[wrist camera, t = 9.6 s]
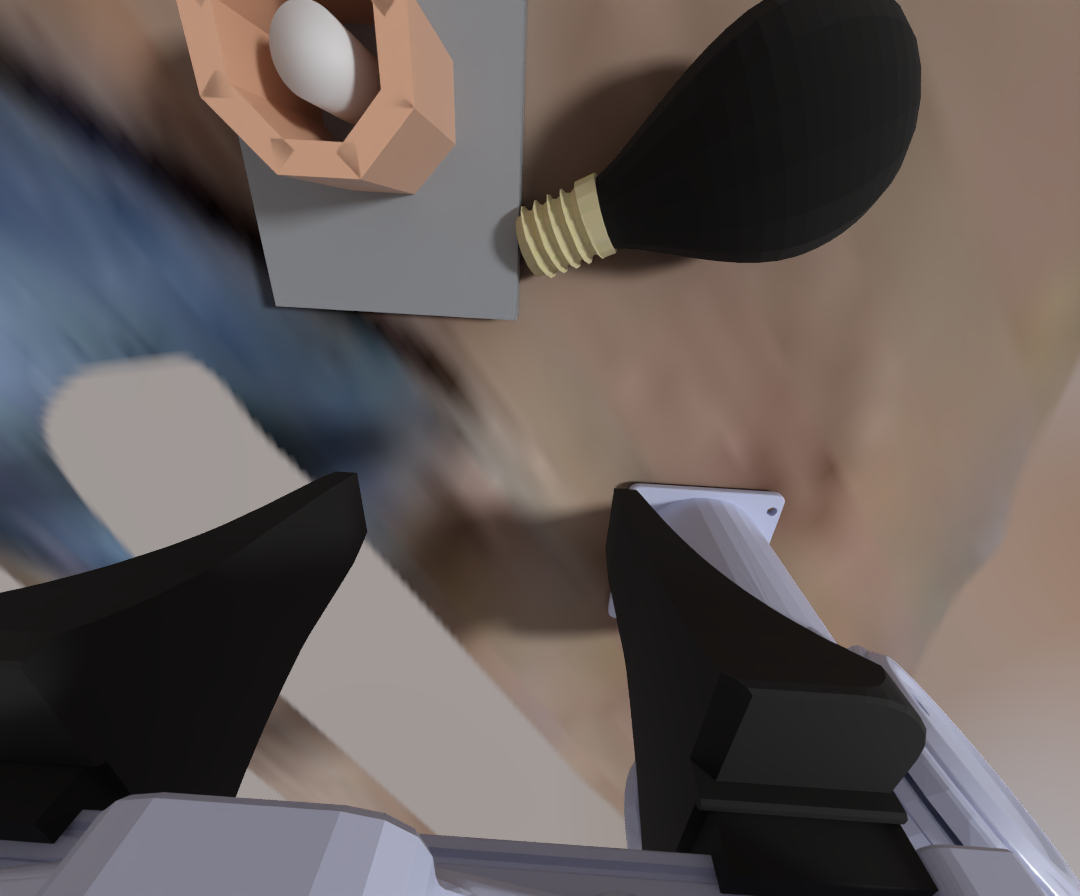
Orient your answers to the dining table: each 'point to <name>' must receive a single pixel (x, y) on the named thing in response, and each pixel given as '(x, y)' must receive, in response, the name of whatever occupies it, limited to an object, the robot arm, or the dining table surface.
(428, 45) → the collar
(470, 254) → the duct plate
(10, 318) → the dining table surface
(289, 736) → the dining table surface
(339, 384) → the dining table surface
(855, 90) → the light bulb
